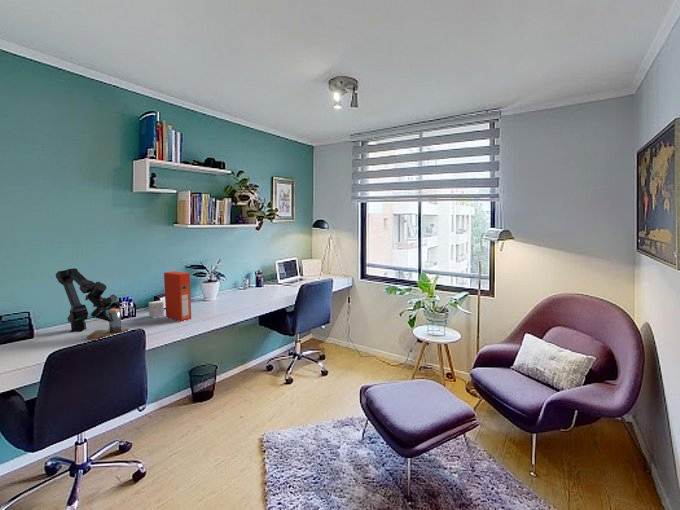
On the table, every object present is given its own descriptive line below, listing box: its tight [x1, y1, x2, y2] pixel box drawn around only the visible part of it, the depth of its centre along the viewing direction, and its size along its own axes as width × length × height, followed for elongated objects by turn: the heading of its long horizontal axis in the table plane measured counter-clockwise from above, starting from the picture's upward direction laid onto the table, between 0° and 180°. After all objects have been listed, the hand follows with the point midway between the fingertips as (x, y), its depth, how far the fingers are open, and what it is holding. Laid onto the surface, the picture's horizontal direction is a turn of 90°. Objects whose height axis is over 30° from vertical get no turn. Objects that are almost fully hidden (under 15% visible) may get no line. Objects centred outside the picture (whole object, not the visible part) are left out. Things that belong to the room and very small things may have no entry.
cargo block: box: [108, 308, 120, 314], centre depth 212 cm, size 4×4×2 cm
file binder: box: [163, 270, 192, 322], centre depth 249 cm, size 8×17×32 cm, turn 58°
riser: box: [86, 328, 130, 340], centre depth 213 cm, size 18×11×2 cm, turn 102°
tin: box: [108, 310, 123, 334], centre depth 213 cm, size 6×6×12 cm
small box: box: [148, 300, 165, 319], centre depth 254 cm, size 8×6×10 cm
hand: (116, 319), depth 213 cm, fingers open, 9 cm apart
